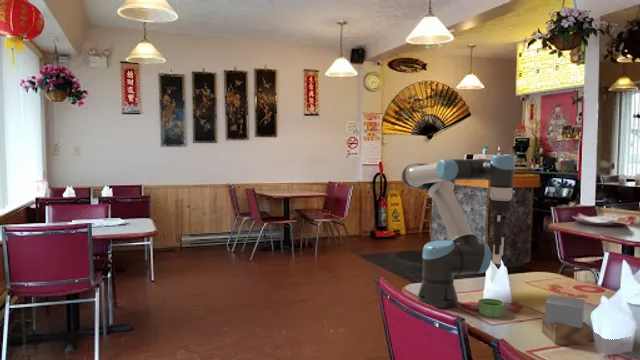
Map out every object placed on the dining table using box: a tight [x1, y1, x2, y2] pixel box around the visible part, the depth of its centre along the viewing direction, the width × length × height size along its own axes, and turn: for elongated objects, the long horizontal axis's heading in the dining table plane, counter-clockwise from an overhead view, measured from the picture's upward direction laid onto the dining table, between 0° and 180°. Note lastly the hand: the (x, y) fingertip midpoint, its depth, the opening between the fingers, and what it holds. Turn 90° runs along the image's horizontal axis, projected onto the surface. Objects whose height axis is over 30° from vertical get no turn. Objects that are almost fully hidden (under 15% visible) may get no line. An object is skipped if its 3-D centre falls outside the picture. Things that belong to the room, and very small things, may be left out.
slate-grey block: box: [544, 294, 585, 328], centre depth 150 cm, size 10×10×6 cm
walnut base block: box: [541, 314, 591, 346], centre depth 150 cm, size 10×10×6 cm
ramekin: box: [477, 298, 506, 318], centre depth 173 cm, size 9×9×4 cm
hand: (497, 259), depth 171 cm, fingers open, 13 cm apart
